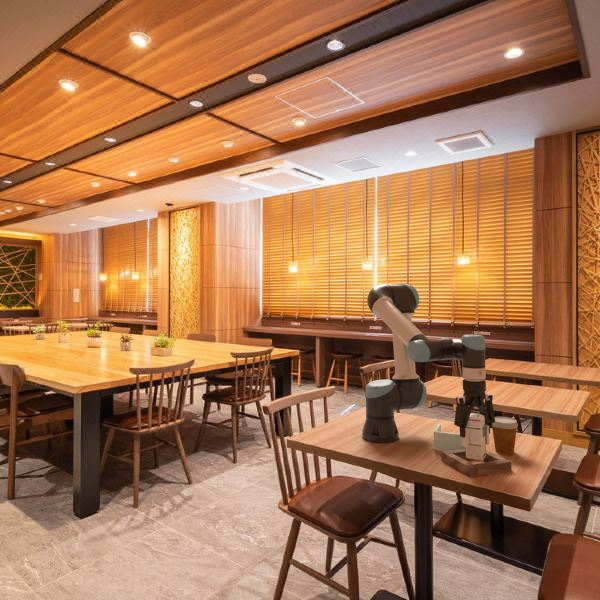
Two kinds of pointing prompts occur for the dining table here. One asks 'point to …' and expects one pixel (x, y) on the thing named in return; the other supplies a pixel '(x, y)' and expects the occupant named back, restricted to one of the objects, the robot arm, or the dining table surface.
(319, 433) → the dining table surface
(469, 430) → the syrup box
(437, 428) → the l-shaped corner panel
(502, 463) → the socket block
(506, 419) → the disposable coffee cup
